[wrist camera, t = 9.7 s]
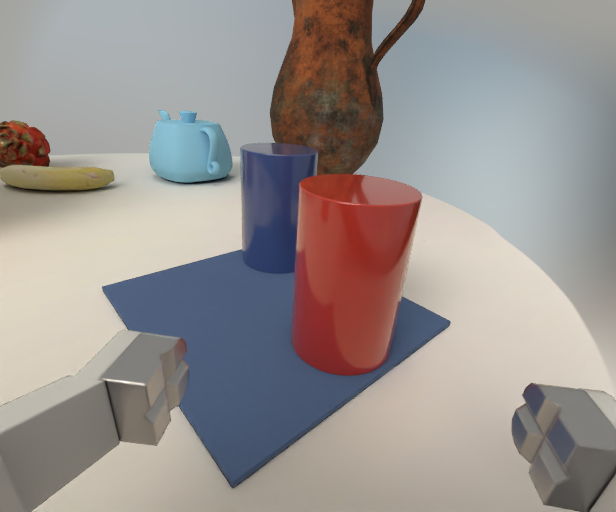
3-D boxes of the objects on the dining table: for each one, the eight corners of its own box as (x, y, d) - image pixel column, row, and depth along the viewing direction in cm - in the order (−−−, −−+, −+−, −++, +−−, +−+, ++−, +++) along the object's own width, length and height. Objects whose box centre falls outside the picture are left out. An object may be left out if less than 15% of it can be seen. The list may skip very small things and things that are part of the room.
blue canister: (324, 261, 33) (334, 152, 28) (269, 281, 29) (271, 157, 24) (282, 239, 37) (286, 141, 33) (229, 253, 33) (225, 144, 29)
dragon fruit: (24, 189, 53) (21, 183, 62) (69, 153, 56) (60, 152, 65) (-36, 143, 48) (-30, 144, 57) (16, 106, 51) (15, 112, 59)
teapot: (190, 107, 67) (249, 115, 56) (195, 163, 71) (249, 181, 60) (122, 105, 58) (175, 115, 47) (132, 170, 63) (182, 192, 52)
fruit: (87, 198, 46) (82, 173, 45) (-19, 188, 47) (-28, 163, 46) (118, 186, 53) (114, 164, 52) (24, 177, 54) (18, 155, 52)
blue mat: (449, 325, 25) (450, 321, 25) (232, 488, 14) (232, 482, 14) (286, 240, 38) (286, 237, 38) (102, 291, 27) (101, 286, 26)
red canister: (410, 345, 22) (446, 193, 18) (342, 394, 18) (368, 214, 14) (338, 301, 27) (353, 169, 22) (270, 333, 23) (273, 180, 18)
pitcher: (313, 176, 67) (327, -15, 54) (414, 203, 55) (463, -38, 42) (245, 188, 56) (242, -49, 43) (352, 226, 43) (392, -95, 30)
